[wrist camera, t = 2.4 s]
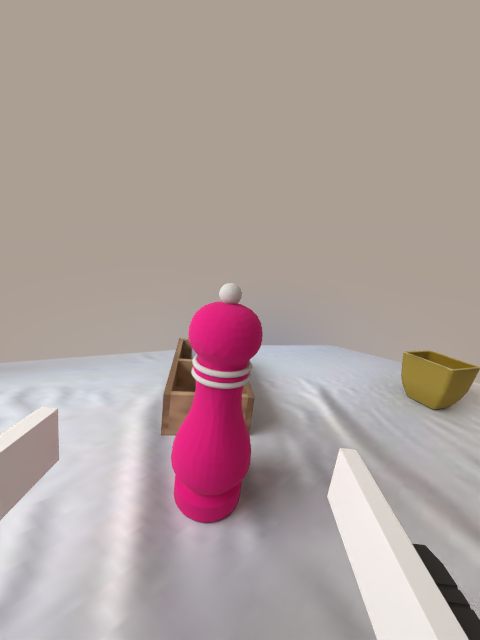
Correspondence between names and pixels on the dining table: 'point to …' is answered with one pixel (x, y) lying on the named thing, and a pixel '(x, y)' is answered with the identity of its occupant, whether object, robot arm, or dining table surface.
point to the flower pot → (436, 378)
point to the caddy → (189, 392)
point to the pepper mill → (216, 409)
